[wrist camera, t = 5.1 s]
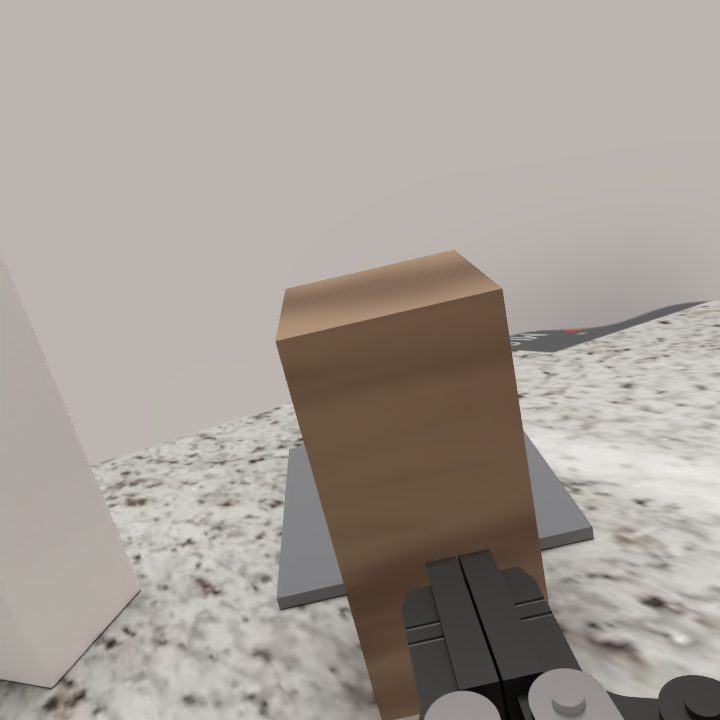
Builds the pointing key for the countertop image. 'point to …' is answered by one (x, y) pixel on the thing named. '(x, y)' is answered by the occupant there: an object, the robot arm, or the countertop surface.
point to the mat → (315, 549)
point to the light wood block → (409, 439)
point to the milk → (48, 518)
